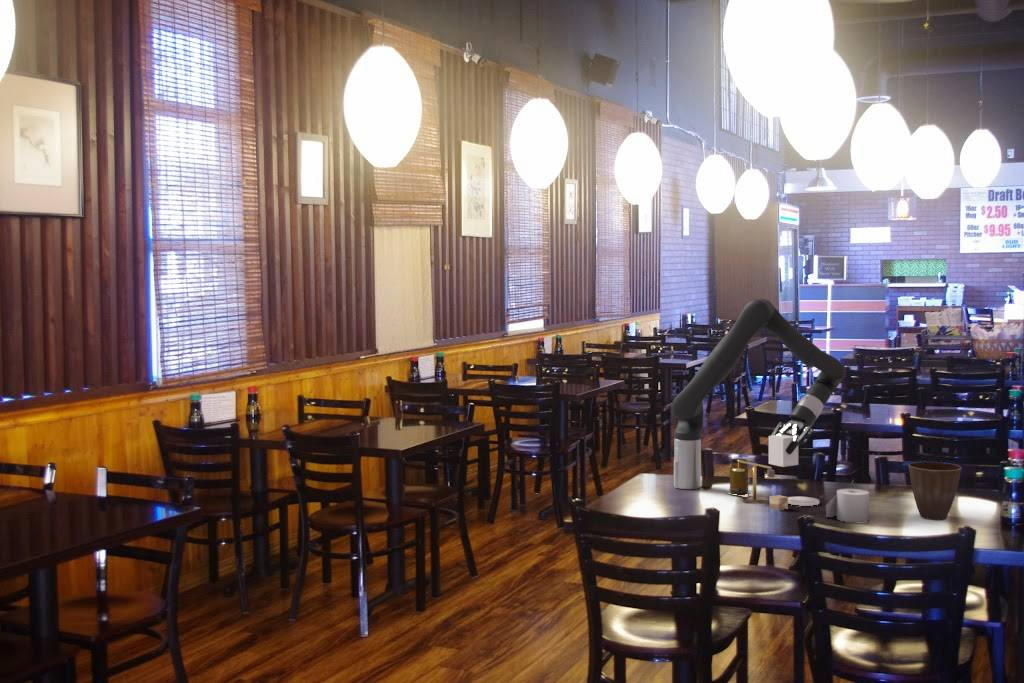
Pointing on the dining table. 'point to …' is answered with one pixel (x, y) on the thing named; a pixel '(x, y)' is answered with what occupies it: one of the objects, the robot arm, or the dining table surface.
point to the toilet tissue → (849, 505)
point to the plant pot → (934, 487)
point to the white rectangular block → (782, 451)
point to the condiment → (738, 478)
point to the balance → (769, 475)
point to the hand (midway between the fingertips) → (779, 451)
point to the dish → (803, 501)
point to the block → (778, 502)
